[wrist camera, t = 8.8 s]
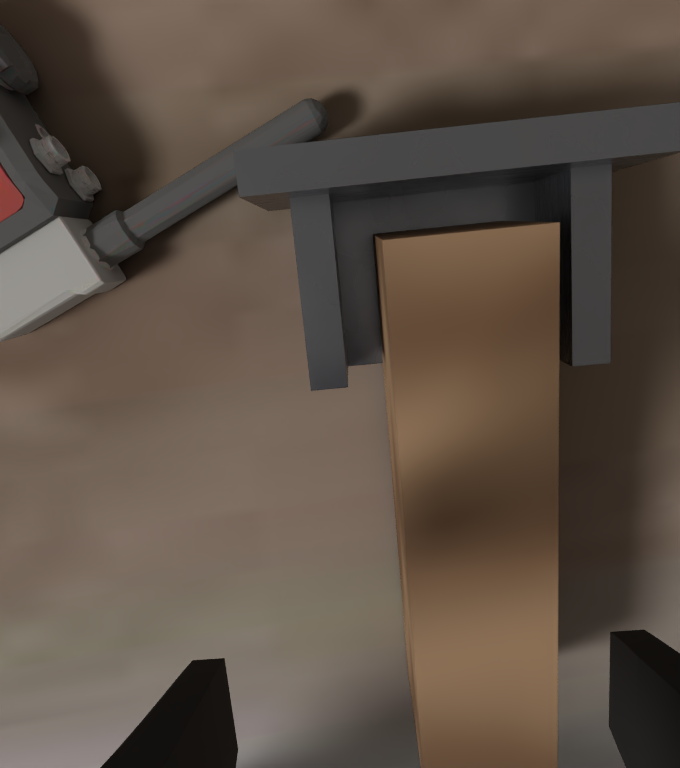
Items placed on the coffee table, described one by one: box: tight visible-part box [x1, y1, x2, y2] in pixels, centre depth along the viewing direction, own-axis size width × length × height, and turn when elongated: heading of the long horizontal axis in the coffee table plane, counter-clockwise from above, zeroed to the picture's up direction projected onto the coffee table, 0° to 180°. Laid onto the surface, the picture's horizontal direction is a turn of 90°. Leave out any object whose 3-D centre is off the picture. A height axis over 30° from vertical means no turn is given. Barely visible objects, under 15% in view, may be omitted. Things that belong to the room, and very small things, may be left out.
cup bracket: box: [233, 102, 680, 391], centre depth 16 cm, size 6×10×5 cm, turn 96°
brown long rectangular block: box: [373, 221, 560, 768], centre depth 17 cm, size 16×4×5 cm, turn 6°
